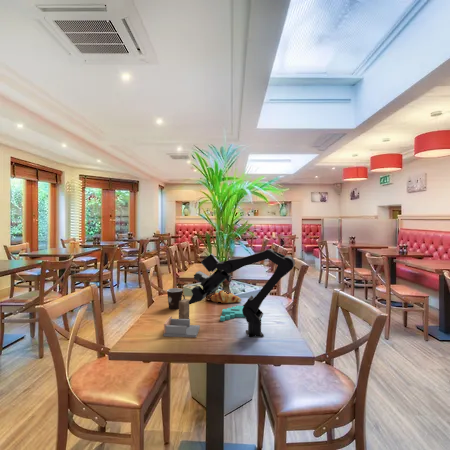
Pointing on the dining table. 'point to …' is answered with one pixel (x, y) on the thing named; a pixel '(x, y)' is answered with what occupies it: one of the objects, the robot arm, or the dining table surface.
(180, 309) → the menu block
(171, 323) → the seat
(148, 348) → the dining table surface
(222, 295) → the croissant
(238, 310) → the alien figure
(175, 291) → the coffee mug
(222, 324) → the dining table surface
